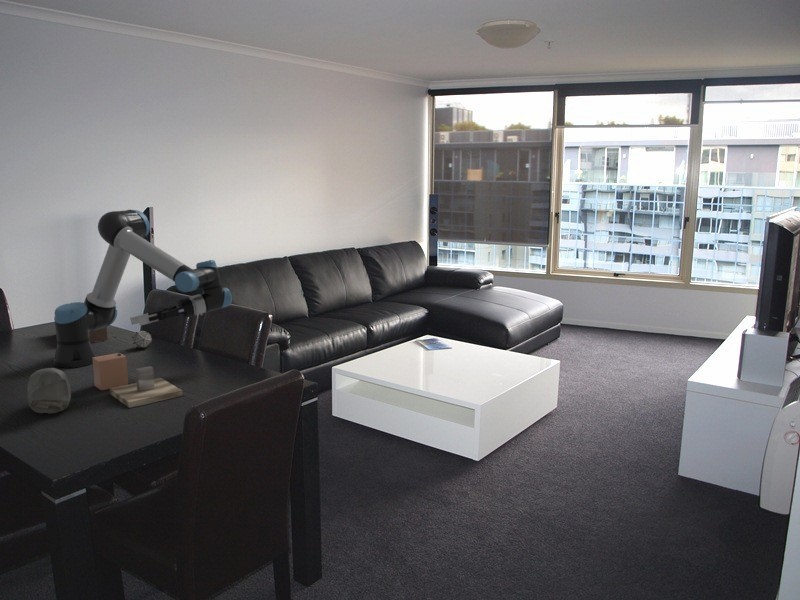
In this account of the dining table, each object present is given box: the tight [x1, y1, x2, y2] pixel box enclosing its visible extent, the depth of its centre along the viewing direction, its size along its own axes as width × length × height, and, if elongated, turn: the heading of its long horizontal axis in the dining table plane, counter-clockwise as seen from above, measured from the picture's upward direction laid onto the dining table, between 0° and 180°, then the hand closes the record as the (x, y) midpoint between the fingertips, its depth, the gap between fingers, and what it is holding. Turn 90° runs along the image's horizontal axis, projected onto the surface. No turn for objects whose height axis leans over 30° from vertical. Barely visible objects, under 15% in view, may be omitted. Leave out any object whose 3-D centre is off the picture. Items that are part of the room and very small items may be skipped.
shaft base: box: [109, 365, 183, 409], centre depth 224 cm, size 18×18×10 cm
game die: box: [131, 328, 155, 350], centre depth 283 cm, size 9×8×10 cm
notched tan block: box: [92, 352, 129, 391], centre depth 234 cm, size 7×9×11 cm
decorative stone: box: [26, 367, 72, 414], centre depth 210 cm, size 12×17×15 cm
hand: (134, 321), depth 240 cm, fingers open, 13 cm apart
